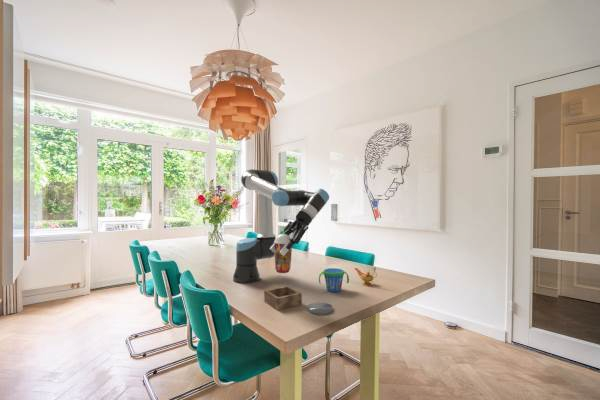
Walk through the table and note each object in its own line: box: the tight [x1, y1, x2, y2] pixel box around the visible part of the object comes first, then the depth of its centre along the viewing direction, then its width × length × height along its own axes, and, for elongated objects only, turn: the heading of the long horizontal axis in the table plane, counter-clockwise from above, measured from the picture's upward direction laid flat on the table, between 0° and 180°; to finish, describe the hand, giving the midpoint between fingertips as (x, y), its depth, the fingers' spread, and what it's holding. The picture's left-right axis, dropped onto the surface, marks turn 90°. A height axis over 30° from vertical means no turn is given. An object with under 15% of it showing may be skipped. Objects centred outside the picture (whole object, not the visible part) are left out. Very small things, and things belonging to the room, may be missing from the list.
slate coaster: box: [307, 301, 334, 316], centre depth 119 cm, size 11×11×1 cm
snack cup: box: [318, 267, 350, 293], centre depth 145 cm, size 16×10×10 cm
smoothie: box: [274, 227, 293, 274], centre depth 127 cm, size 8×8×20 cm
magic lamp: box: [354, 266, 378, 287], centre depth 156 cm, size 7×18×11 cm, turn 29°
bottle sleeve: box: [263, 285, 303, 311], centre depth 127 cm, size 12×12×5 cm
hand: (276, 252), depth 125 cm, fingers closed on smoothie, 8 cm apart
